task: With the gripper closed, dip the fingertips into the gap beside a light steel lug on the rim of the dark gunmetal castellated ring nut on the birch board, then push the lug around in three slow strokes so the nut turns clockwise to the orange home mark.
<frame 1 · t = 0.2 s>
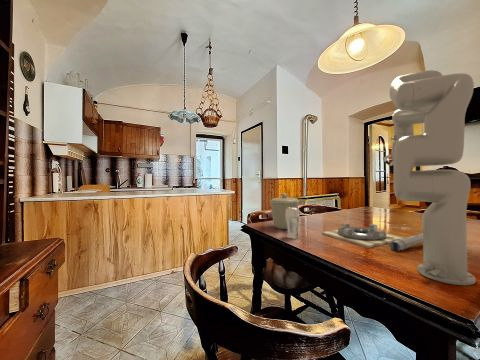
hand: (404, 173, 105), 31 cm above the table, tool pointing down, fingers open, 9 cm apart
beer glass: (293, 237, 110), on the table
canister: (285, 227, 132), on the table
ring nut: (360, 230, 107), point 3 cm above the table, hinge at 0.0°
grey flashlight: (416, 247, 90), on the table
nut board: (361, 236, 107), on the table
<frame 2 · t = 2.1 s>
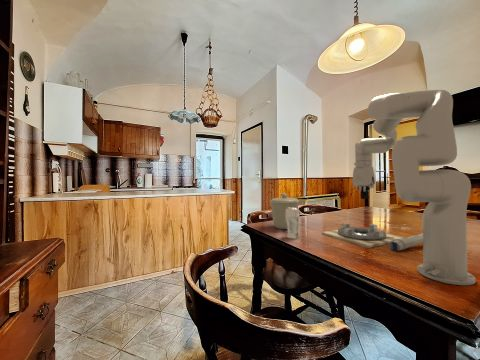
hand: (364, 198, 115), 18 cm above the table, tool pointing down, fingers closed
nothing on the table moved.
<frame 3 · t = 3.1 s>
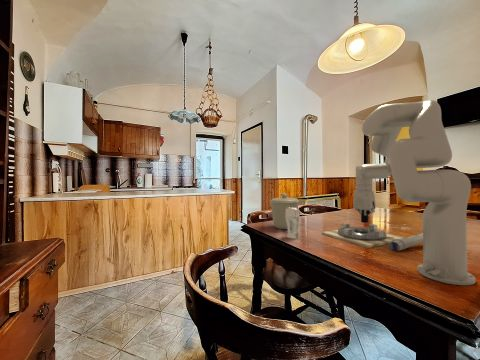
hand: (364, 222, 115), 5 cm above the table, tool pointing down, fingers closed
nothing on the table moved.
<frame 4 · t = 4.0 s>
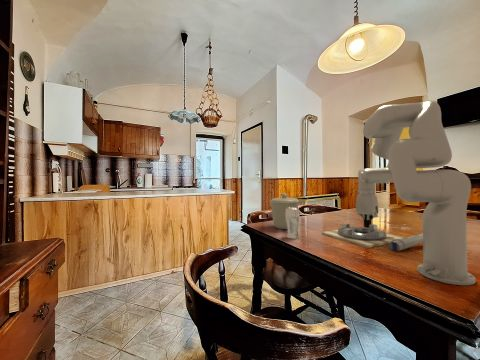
hand: (367, 227, 114), 3 cm above the table, tool pointing down, fingers closed
ring nut: (360, 230, 107), point 3 cm above the table, hinge at 0.0°, touching gripper
everything else where it was.
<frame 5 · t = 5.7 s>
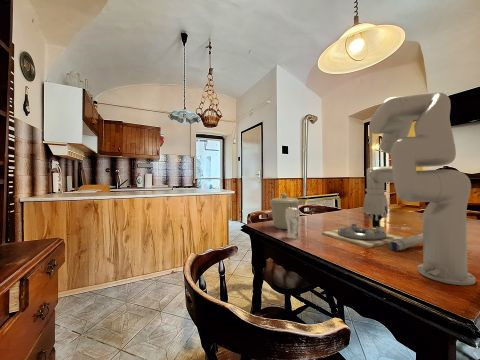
hand: (376, 227, 110), 4 cm above the table, tool pointing down, fingers closed
ring nut: (360, 230, 107), point 3 cm above the table, hinge at -28.2°, touching gripper
everything else where it was.
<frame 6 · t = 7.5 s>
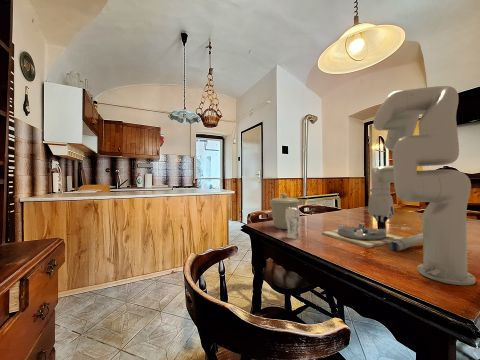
hand: (381, 229, 105), 4 cm above the table, tool pointing down, fingers closed
ring nut: (360, 230, 107), point 3 cm above the table, hinge at -54.8°, touching gripper
everything else where it was.
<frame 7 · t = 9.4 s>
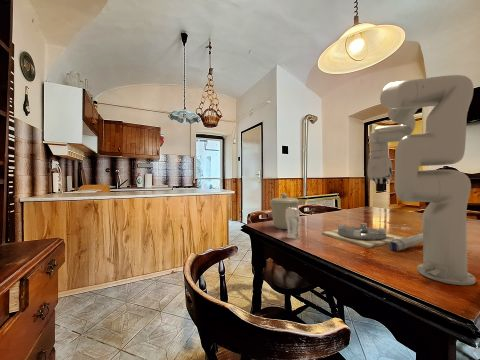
hand: (380, 191, 107), 22 cm above the table, tool pointing down, fingers closed
ring nut: (360, 230, 107), point 3 cm above the table, hinge at -60.4°
everything else where it was.
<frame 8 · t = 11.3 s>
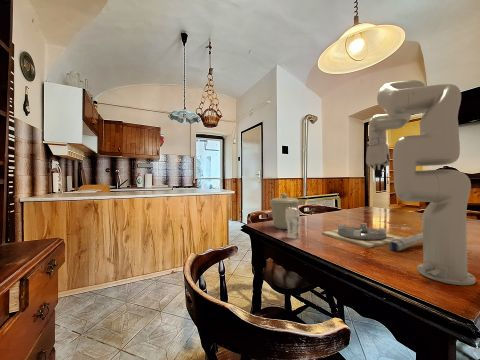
hand: (378, 177, 113), 29 cm above the table, tool pointing down, fingers closed
nothing on the table moved.
at the end: ring nut at -60° (first picture: +0°); grey flashlight moved 0.9 cm from its start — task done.
